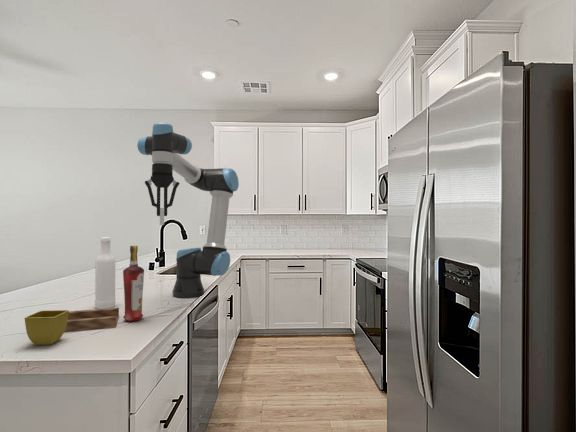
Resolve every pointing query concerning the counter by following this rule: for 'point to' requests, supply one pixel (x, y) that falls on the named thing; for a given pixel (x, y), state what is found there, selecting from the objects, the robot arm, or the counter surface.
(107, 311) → the rest
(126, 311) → the liquor
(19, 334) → the counter surface
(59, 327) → the flower pot
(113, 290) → the bottle
